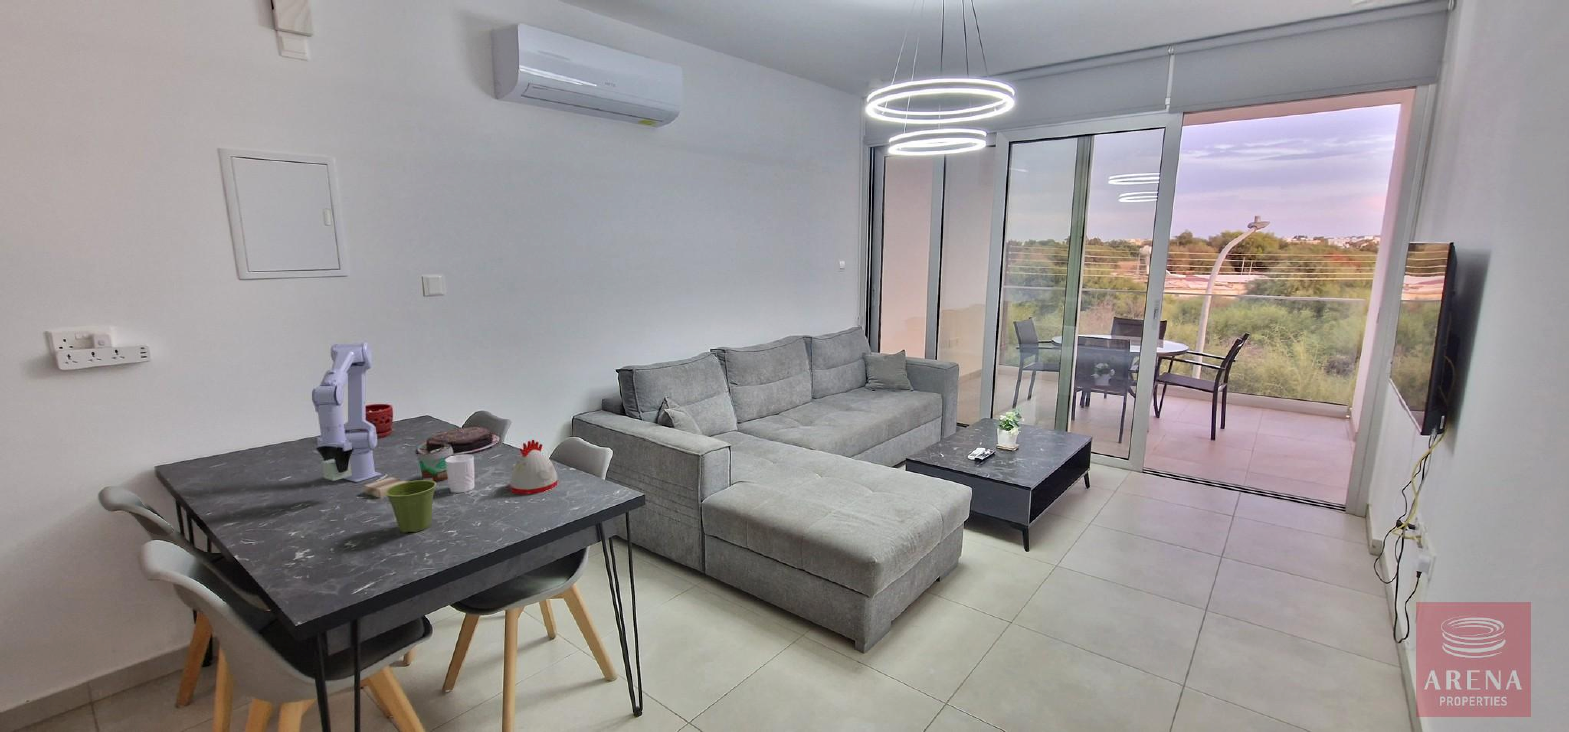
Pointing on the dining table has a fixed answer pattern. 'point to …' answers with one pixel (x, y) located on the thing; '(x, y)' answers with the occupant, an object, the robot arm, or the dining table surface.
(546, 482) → the kitchen timer
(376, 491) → the oak block
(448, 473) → the white cup
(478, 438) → the chocolate cake
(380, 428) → the plant pot
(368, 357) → the robot arm
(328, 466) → the sage cube
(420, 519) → the plant pot
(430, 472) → the food container
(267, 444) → the dining table surface
